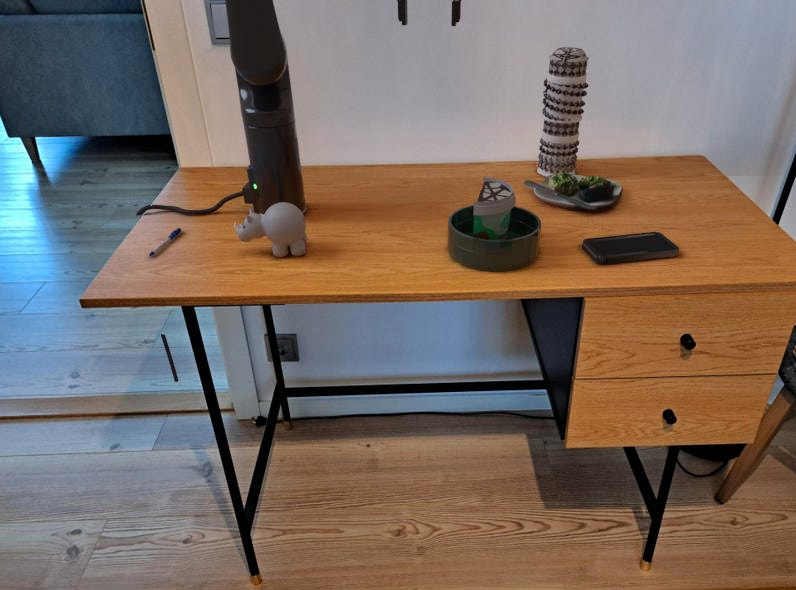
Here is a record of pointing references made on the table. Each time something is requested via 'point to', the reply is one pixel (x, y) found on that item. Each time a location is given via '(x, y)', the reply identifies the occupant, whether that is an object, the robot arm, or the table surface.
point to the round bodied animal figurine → (277, 228)
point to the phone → (629, 247)
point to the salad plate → (577, 192)
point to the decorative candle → (562, 111)
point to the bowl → (494, 241)
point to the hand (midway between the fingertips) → (429, 25)
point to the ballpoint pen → (166, 241)
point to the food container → (493, 210)
